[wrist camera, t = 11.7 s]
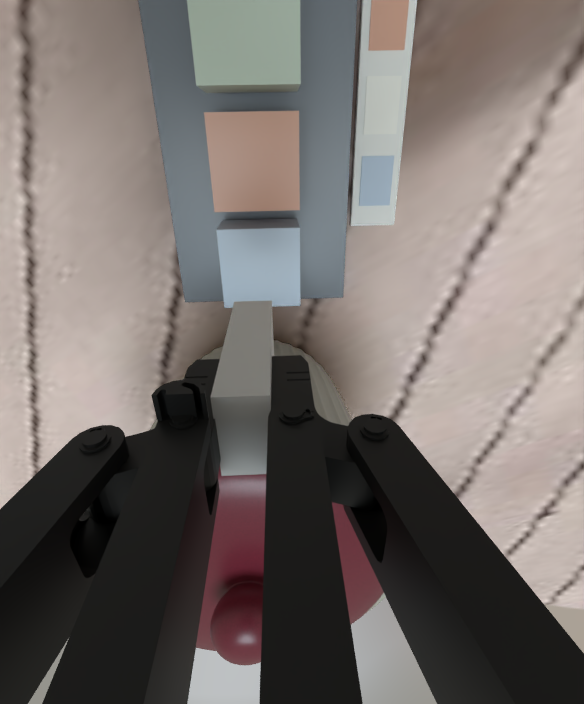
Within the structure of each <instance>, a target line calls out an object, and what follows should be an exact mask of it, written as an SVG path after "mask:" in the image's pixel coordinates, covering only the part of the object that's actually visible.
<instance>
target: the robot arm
mask: <svg viewBox="0 0 584 704" xmlns="http://www.w3.org/2000/svg"><path fill="white" fill-rule="evenodd" d="M152 399H153V403H154V408H155V412H156V416H157V421H158V422H157V424H156V427H155V428H154V429H152V430H149V431H146V432H143V433H139V434H135V435H131V436H127V437H125V435H124V432H123V431H122V430H121V429H120V428H119V427H115V426H112V425H102V426H98V427H93V428H90V429H88V430H86V431H83V432H81V433H79V434H78V435H77V436H76V437H74V438H73V439H72V440H71V441H69V442H68V443H67V444H66V445H65V446H64V447H63V448H62V449H61V450H60V451H59V452H58V453H57V454H56V455H55V456H54V457H53V458H52V459H51V460H50V461H49V462H48V463H47V464H46V465H45V466H44V467H43V468H42V469H41V470H40V471H39V472H38V473H37V474H36V475H35V476H34V477H33V478H32V479H31V480H30V481H29V482H28V483H27V484H26V485H25V486H24V487H23V488H21V489H20V490H19V491H18V492H17V493H16V494H15V495H14V496H13V497H12V498H11V499H10V500H9V501H8V502H7V503H6V504H5V505H4V506H3V507H2V508H1V509H0V704H28V702H29V701H30V699H31V698H32V696H33V694H34V693H35V691H36V690H37V688H38V686H39V685H40V683H41V681H42V680H43V678H44V677H45V675H46V674H47V672H48V670H49V669H50V667H51V665H52V664H53V662H54V661H55V659H56V657H57V656H58V654H59V653H60V651H61V649H62V648H63V646H64V645H65V643H66V641H67V639H68V638H69V640H68V642H67V645H66V647H65V649H64V652H63V654H62V657H61V659H60V662H59V664H58V667H57V669H56V671H55V674H54V676H53V679H52V681H51V684H50V686H49V689H48V691H47V694H46V696H45V699H44V701H43V703H42V704H187V701H188V695H189V688H190V681H191V674H192V668H193V661H194V655H195V649H196V642H197V636H198V629H199V623H200V616H201V610H202V603H203V596H204V590H205V583H206V577H207V570H208V564H209V557H210V551H211V544H212V538H213V531H214V525H215V518H216V511H217V505H218V498H219V492H220V490H219V481H218V473H219V467H220V468H221V475H222V476H232V475H257V474H266V504H265V538H264V572H263V606H262V640H261V675H260V704H362V697H361V690H360V684H359V678H358V671H357V665H356V658H355V652H354V645H353V638H352V632H351V625H350V618H349V612H348V605H347V599H346V592H345V585H344V579H343V572H342V566H341V559H340V553H339V546H338V539H337V533H336V526H335V520H334V513H333V507H332V502H333V503H338V504H342V505H343V507H344V510H345V513H346V515H347V517H348V519H349V521H350V523H351V525H352V527H353V529H354V531H355V533H356V535H357V538H358V540H359V542H360V544H361V546H362V548H363V550H364V552H365V554H366V556H367V558H368V560H369V563H370V565H371V567H372V569H373V571H374V573H375V575H376V577H377V579H378V581H379V583H380V585H381V588H382V590H383V592H384V594H385V596H386V598H387V600H388V602H389V604H390V606H391V608H392V610H393V612H394V615H395V616H396V619H397V621H398V623H399V625H400V627H401V629H402V631H403V633H404V635H405V637H406V639H407V642H408V644H409V646H410V648H411V650H412V652H413V654H414V656H415V658H416V660H417V662H418V664H419V667H420V669H421V671H422V673H423V675H424V677H425V679H426V681H427V683H428V685H429V687H430V690H431V692H432V694H433V696H434V698H435V700H436V702H437V704H584V653H583V652H582V651H581V650H580V649H579V647H578V646H577V645H576V644H575V642H574V641H573V640H572V639H571V637H570V636H569V635H568V634H567V632H565V630H564V629H563V628H562V626H561V625H560V624H559V623H558V621H557V620H556V619H555V618H554V617H553V615H552V614H551V613H550V612H549V610H548V609H547V608H546V607H545V605H544V604H543V603H542V602H541V600H540V599H539V598H538V597H537V596H536V594H535V593H534V592H533V591H532V589H531V588H530V587H529V586H528V584H527V583H526V582H525V581H524V580H523V578H522V577H521V576H520V575H519V573H518V572H517V571H516V570H515V568H514V567H513V566H512V565H511V563H510V562H509V561H508V560H507V559H506V557H505V556H504V555H503V554H502V552H501V551H500V550H499V549H498V547H497V546H496V545H495V544H494V543H493V541H492V540H491V539H490V538H489V536H488V535H487V534H486V533H485V531H484V530H483V529H482V528H481V527H480V525H479V524H478V523H477V522H476V520H475V519H474V518H473V517H472V515H471V514H470V513H469V512H468V511H467V509H466V508H465V507H464V506H463V504H462V503H461V502H460V501H459V499H458V498H457V497H456V496H455V494H454V493H453V492H452V491H451V490H450V488H449V487H448V486H447V485H446V483H445V482H444V481H443V480H442V478H441V477H440V476H439V475H438V474H437V472H436V471H435V470H434V469H433V467H432V466H431V465H430V464H429V462H428V461H427V460H426V459H425V458H424V456H423V455H422V454H421V453H420V451H419V450H418V449H417V448H416V446H415V445H414V444H413V443H412V442H411V440H410V439H409V438H408V437H407V435H406V434H405V433H404V432H403V430H402V429H401V428H400V427H399V426H398V425H397V424H396V423H395V422H394V421H393V420H391V419H389V418H386V417H384V416H381V415H375V414H366V415H361V416H358V417H355V418H354V419H353V420H352V421H351V422H349V425H348V426H346V425H340V424H336V423H332V422H330V421H328V420H325V419H324V418H322V417H321V416H320V415H319V414H318V413H317V411H316V409H315V406H314V399H313V392H312V385H311V378H310V372H309V365H308V362H307V361H306V360H305V359H304V358H303V357H302V356H301V355H292V356H274V339H273V317H272V301H238V302H234V304H233V309H232V313H231V317H230V321H229V325H228V329H227V333H226V337H225V341H224V345H223V349H222V353H221V357H220V359H203V360H196V361H195V362H194V363H193V364H192V365H191V366H190V367H188V369H187V372H186V375H185V379H184V380H179V381H173V382H170V383H167V384H164V385H162V386H161V387H159V388H158V389H156V390H155V392H154V393H153V394H152ZM84 512H85V513H84Z"/></svg>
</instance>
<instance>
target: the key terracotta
mask: <svg viewBox="0 0 584 704" xmlns="http://www.w3.org/2000/svg"><path fill="white" fill-rule="evenodd" d="M204 118H205V127H206V137H207V146H208V156H209V165H210V175H211V184H212V194H213V203H214V212H246V211H287V210H300V176H299V111H250V112H204Z"/></svg>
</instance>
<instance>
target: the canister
mask: <svg viewBox="0 0 584 704" xmlns="http://www.w3.org/2000/svg"><path fill="white" fill-rule="evenodd" d="M222 349H223V346H222V347H220V348H216V349H214V350H213V351H212V352H211V353H210V354H207V355H205V356H204V357H203V358H202V359H201V360H203V359H220V357H221V353H222ZM292 355H301V356H302V357H303V358H304V359H305V360H306V361H307V362H308V365H309V372H310V378H311V385H312V392H313V399H314V406H315V409H316V411H317V413H318V414H319V415H320V416H321V417H322V418H324V419H325V420H328V421H330V422H332V423H336V424H340V425H346V426H348V425H349V422H351V421H352V419H351V417H350V415H349V413H348V411H347V409H346V407H345V405H344V403H343V401H342V399H341V397H340V395H339V393H338V391H337V389H336V387H335V385H334V383H333V382H332V380H331V378H330V377H329V375H328V374H327V373H326V372H325V371H324V369H323V367H322V366H321V365H320V364H319V363H317V362H316V361H315V360H314V359H313V358H312V357H311V356H310V355H308V354H305V353H304V352H303V351H302V350H301V349H299V348H295V347H293V346H291V345H290V344H288V343H282V342H280V341H278V340H274V356H292ZM184 379H185V377H184ZM184 379H183V380H184ZM157 422H158V421H157V419H156V421H155V422H154V424H153V426H152V427H151V429H150V430H152V429H154V428H155V427H156V424H157ZM218 481H219V490H220V492H219V498H218V505H217V511H216V518H215V525H214V531H213V538H212V544H211V551H210V557H209V564H208V570H207V577H206V583H205V590H204V596H203V603H202V610H201V616H200V623H199V629H198V636H197V642H196V648H201V649H207V650H213V651H217V652H218V653H219V655H220V656H221V657H223V658H224V659H225V660H227V661H229V662H231V663H233V664H238V665H252V664H256V663H259V662H261V640H262V606H263V572H264V538H265V504H266V474H257V475H232V476H222V475H221V468H220V467H219V473H218ZM332 507H333V513H334V520H335V526H336V533H337V539H338V546H339V553H340V559H341V566H342V572H343V579H344V585H345V592H346V599H347V605H348V612H349V618H350V625H351V624H352V623H354V622H355V621H356V620H357V619H359V618H360V617H362V616H363V615H364V614H365V613H367V612H368V611H370V610H371V609H373V608H374V607H375V606H376V605H378V604H379V603H380V602H381V601H382V600H383V599H384V598H385V597H386V596H385V594H384V592H383V590H382V588H381V585H380V583H379V581H378V579H377V577H376V575H375V573H374V571H373V569H372V567H371V565H370V563H369V560H368V558H367V556H366V554H365V552H364V550H363V548H362V546H361V544H360V542H359V540H358V538H357V535H356V533H355V531H354V529H353V527H352V525H351V523H350V521H349V519H348V517H347V515H346V513H345V510H344V507H343V505H342V504H338V503H333V502H332Z"/></svg>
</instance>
